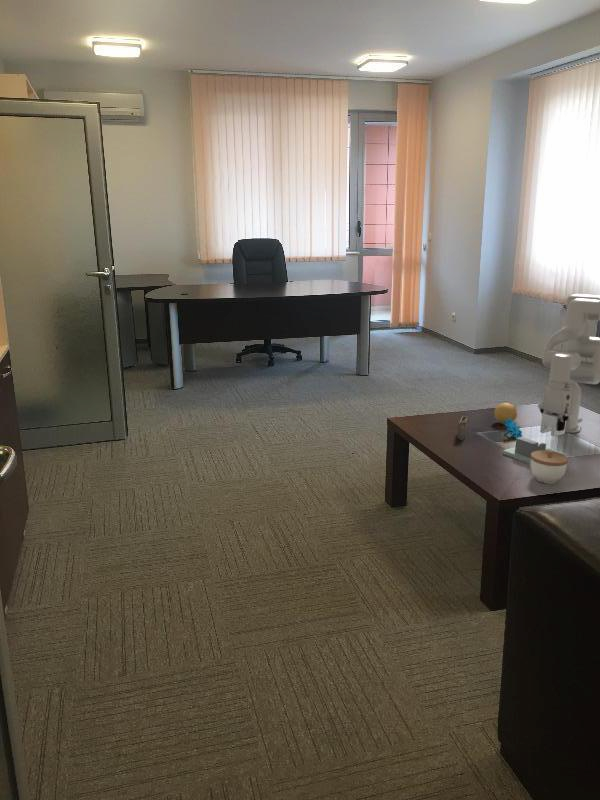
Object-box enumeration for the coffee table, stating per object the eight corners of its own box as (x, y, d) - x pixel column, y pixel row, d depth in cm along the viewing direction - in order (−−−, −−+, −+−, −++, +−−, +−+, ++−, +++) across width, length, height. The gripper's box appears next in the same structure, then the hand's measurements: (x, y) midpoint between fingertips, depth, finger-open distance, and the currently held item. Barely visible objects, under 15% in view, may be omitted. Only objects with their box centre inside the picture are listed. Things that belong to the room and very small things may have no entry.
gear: (515, 438, 273) (503, 418, 277) (505, 445, 277) (493, 425, 280) (528, 436, 281) (515, 416, 284) (517, 443, 285) (505, 423, 288)
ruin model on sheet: (464, 441, 275) (466, 419, 272) (457, 440, 276) (459, 418, 273) (468, 433, 285) (470, 412, 282) (461, 432, 286) (462, 411, 283)
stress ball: (496, 428, 294) (514, 418, 288) (486, 409, 297) (504, 398, 291) (506, 427, 301) (524, 417, 295) (497, 408, 304) (514, 398, 298)
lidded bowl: (535, 470, 244) (538, 442, 240) (569, 479, 236) (573, 450, 233) (522, 480, 234) (526, 451, 231) (558, 489, 226) (562, 460, 223)
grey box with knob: (550, 429, 266) (553, 410, 264) (564, 433, 261) (567, 414, 259) (540, 432, 262) (542, 412, 260) (553, 436, 257) (556, 416, 255)
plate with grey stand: (531, 445, 270) (533, 428, 268) (565, 457, 257) (567, 439, 255) (502, 453, 260) (504, 436, 258) (536, 466, 247) (539, 448, 245)
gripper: (584, 388, 252) (577, 432, 256) (545, 379, 265) (540, 421, 270) (572, 390, 247) (566, 435, 252) (534, 381, 261) (528, 423, 266)
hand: (552, 427), depth 261 cm, fingers closed on grey box with knob, 6 cm apart
